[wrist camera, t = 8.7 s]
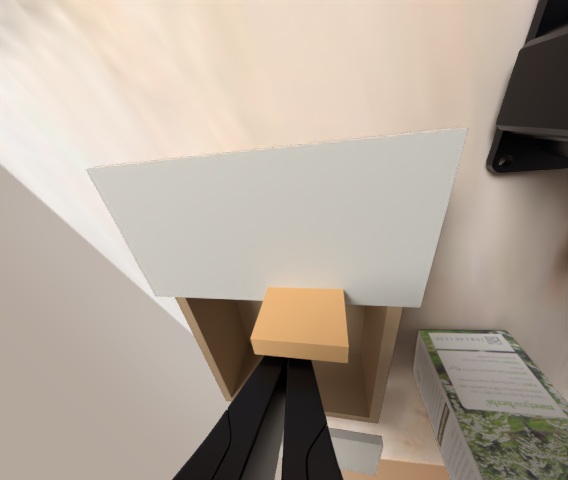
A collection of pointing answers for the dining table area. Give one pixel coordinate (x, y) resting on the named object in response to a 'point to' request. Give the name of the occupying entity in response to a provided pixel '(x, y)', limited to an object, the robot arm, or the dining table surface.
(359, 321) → the carton
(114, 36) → the dining table surface
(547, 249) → the dining table surface
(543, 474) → the syrup box
